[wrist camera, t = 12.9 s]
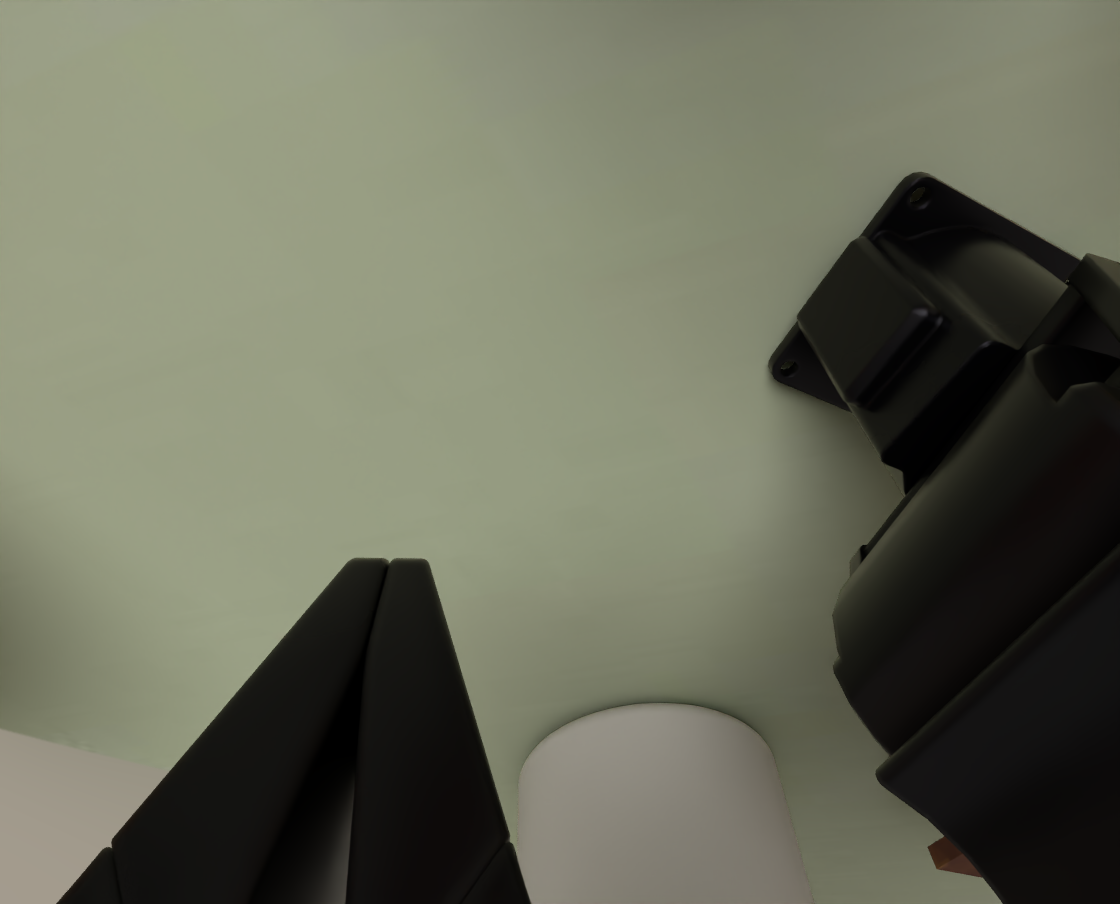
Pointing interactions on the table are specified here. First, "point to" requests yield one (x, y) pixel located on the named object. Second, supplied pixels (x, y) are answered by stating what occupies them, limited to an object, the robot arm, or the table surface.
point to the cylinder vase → (657, 812)
